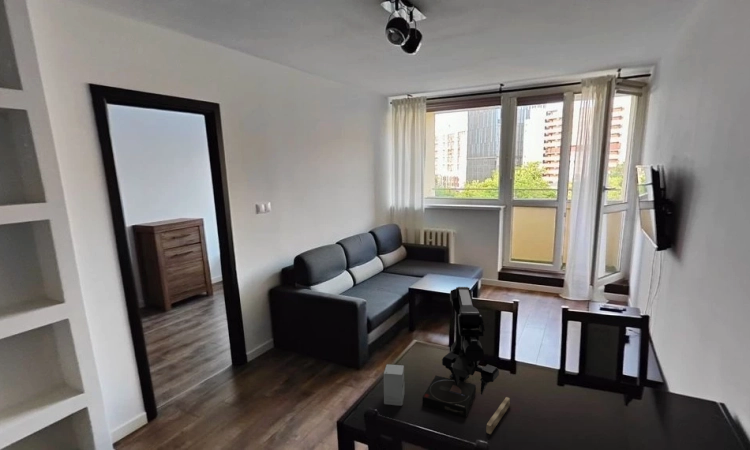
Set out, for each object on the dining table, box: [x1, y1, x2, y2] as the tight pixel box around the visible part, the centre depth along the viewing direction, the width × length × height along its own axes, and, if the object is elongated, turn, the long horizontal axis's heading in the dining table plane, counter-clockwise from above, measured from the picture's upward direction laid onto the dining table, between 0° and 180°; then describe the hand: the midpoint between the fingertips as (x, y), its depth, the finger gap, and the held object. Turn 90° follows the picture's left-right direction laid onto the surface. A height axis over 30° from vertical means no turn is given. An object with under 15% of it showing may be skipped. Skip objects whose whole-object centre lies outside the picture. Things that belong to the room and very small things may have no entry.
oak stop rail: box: [485, 396, 511, 435], centre depth 125 cm, size 19×1×3 cm, turn 141°
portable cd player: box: [422, 375, 477, 418], centre depth 137 cm, size 16×17×4 cm
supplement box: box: [383, 363, 405, 406], centre depth 137 cm, size 7×7×13 cm
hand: (469, 389), depth 123 cm, fingers open, 9 cm apart
